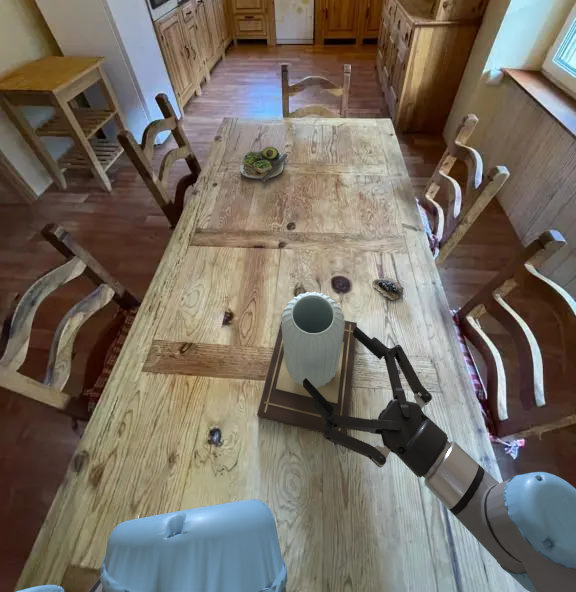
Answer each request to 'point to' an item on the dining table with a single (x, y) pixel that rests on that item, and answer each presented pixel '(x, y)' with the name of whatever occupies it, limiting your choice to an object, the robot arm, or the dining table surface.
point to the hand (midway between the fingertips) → (330, 355)
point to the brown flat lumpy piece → (388, 288)
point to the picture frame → (296, 400)
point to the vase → (312, 338)
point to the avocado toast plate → (262, 164)
